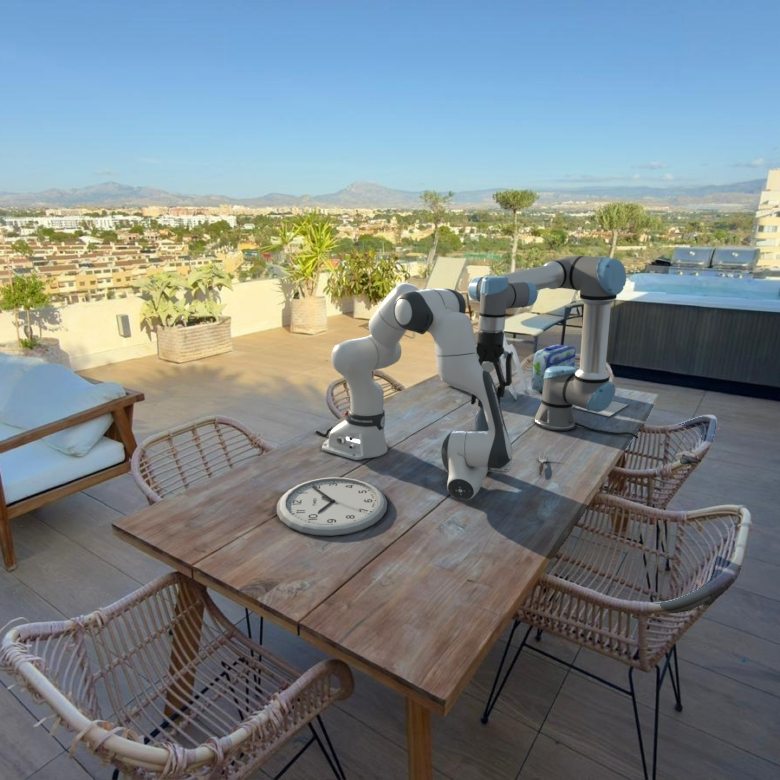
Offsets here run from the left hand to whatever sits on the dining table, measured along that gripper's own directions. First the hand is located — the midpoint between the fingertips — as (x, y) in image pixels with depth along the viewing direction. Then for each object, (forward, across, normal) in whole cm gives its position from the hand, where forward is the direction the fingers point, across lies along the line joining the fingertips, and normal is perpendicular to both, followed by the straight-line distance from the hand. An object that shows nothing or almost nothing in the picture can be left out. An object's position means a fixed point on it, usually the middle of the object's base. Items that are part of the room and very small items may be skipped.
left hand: (482, 448), depth 164 cm
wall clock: (-39, +33, +7) cm, 52 cm away
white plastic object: (+80, +17, +7) cm, 82 cm away
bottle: (-1, 0, +7) cm, 7 cm away
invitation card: (+80, -36, +7) cm, 89 cm away
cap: (-1, 0, -16) cm, 16 cm away
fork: (+9, -18, +7) cm, 21 cm away
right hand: (-1, 0, -15) cm, 15 cm away
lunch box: (+99, -14, +7) cm, 100 cm away
